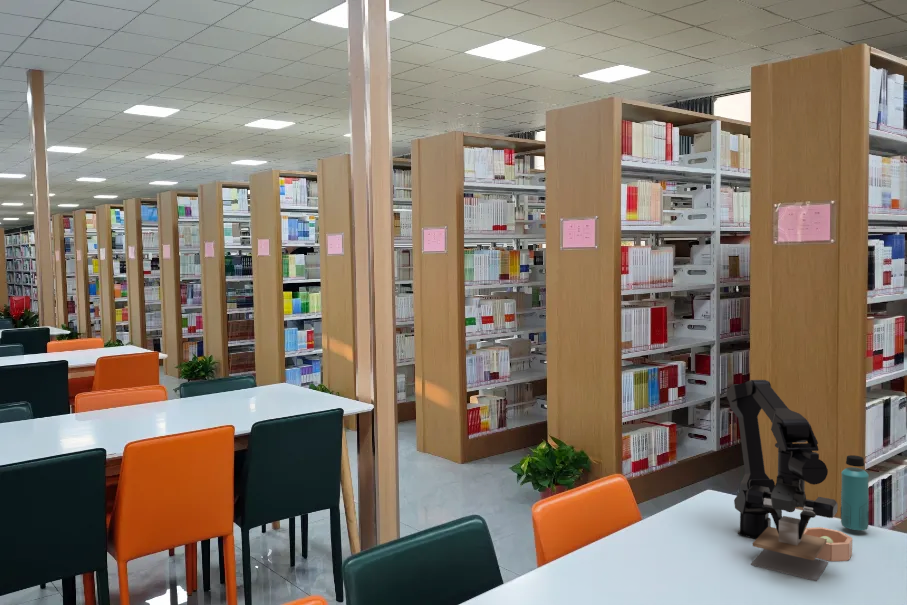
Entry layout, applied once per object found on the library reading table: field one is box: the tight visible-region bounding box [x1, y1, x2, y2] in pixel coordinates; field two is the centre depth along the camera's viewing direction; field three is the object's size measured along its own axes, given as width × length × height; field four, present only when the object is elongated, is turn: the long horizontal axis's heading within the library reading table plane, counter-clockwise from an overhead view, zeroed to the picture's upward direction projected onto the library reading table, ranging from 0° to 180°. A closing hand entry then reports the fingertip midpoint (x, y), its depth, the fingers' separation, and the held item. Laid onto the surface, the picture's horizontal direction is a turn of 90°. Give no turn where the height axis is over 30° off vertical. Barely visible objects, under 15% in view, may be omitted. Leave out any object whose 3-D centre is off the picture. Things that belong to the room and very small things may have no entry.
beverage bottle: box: [840, 454, 870, 531], centre depth 185 cm, size 6×7×20 cm
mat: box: [750, 549, 829, 582], centre depth 166 cm, size 14×12×1 cm
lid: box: [752, 515, 827, 561], centre depth 165 cm, size 13×13×6 cm
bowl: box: [804, 526, 853, 562], centre depth 173 cm, size 11×11×4 cm
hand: (790, 536), depth 165 cm, fingers closed on lid, 4 cm apart
